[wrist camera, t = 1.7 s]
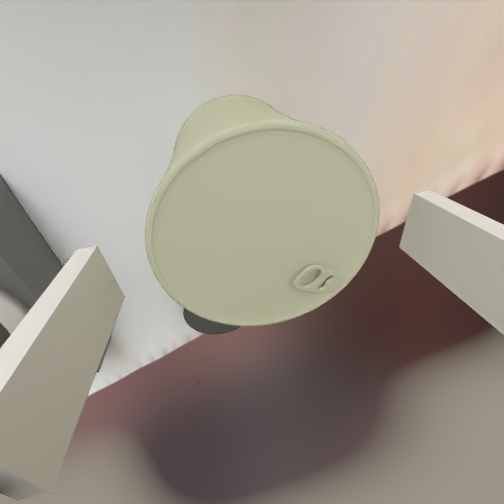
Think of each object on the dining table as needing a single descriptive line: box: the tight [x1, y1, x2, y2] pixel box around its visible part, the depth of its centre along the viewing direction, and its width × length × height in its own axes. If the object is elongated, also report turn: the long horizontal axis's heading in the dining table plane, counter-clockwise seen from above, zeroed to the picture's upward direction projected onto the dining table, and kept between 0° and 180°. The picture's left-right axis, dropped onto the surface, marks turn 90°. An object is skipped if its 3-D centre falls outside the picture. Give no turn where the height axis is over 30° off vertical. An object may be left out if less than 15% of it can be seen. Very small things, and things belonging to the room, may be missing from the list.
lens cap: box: [183, 308, 240, 334], centre depth 27 cm, size 7×7×2 cm
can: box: [145, 95, 379, 326], centre depth 14 cm, size 9×9×12 cm
